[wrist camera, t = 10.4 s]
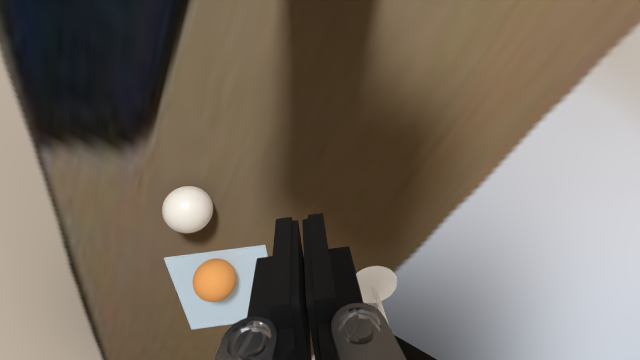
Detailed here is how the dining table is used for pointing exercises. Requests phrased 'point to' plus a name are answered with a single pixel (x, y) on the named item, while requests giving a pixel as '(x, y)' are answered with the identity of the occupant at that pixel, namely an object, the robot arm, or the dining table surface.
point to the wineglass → (376, 285)
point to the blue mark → (228, 308)
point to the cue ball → (187, 209)
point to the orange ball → (214, 280)
